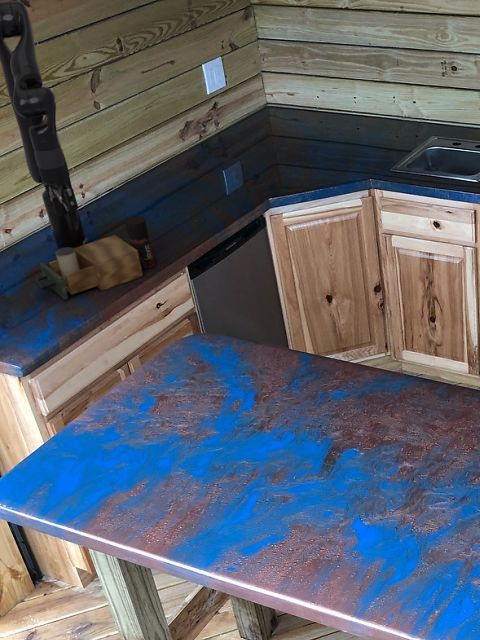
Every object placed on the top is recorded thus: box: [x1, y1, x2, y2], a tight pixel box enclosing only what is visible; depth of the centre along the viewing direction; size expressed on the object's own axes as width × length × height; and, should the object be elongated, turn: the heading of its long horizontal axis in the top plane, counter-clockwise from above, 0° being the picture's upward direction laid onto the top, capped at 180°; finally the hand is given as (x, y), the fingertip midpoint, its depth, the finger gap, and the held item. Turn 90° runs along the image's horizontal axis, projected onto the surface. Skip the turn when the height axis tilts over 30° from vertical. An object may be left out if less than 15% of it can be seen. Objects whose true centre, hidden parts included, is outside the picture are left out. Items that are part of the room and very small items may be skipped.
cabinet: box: [73, 234, 144, 291], centre depth 281 cm, size 14×15×9 cm
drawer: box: [31, 253, 99, 300], centre depth 273 cm, size 17×14×7 cm
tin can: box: [54, 247, 80, 286], centre depth 273 cm, size 6×6×10 cm
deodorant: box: [124, 216, 156, 270], centre depth 284 cm, size 6×6×15 cm
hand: (67, 217), depth 262 cm, fingers open, 8 cm apart
